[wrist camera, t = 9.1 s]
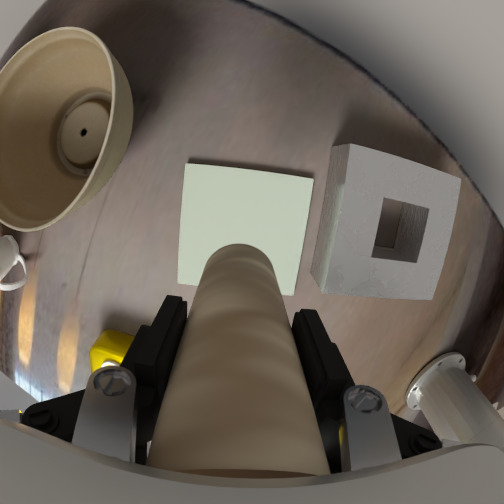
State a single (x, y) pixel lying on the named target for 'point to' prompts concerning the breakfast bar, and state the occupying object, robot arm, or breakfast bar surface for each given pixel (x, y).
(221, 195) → the pad
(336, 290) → the block
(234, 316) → the peg
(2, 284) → the cup
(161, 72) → the breakfast bar surface
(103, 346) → the element tile
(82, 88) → the planter bowl
